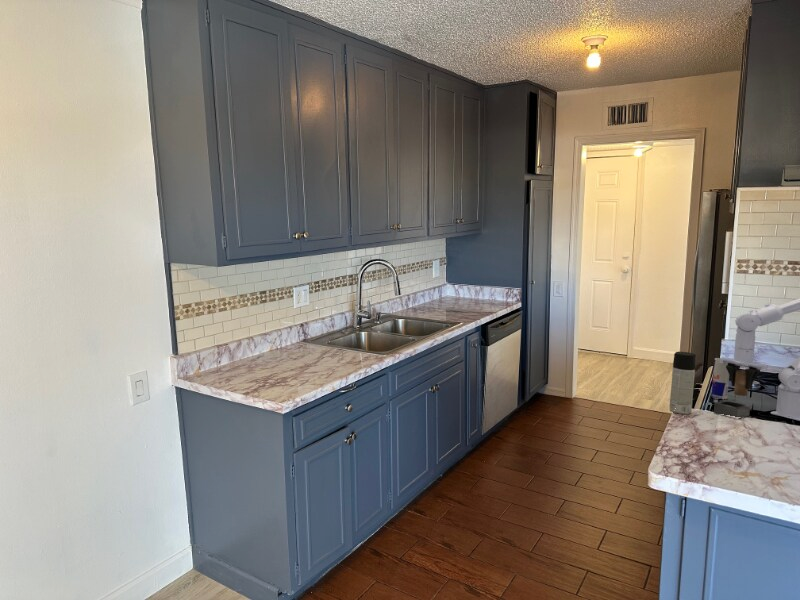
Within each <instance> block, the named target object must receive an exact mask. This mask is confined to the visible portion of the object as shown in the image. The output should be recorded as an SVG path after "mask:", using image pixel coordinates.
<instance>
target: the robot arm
mask: <svg viewBox="0 0 800 600" xmlns="http://www.w3.org/2000/svg"><path fill="white" fill-rule="evenodd" d="M797 311H800V297H799V298H797V299H794V300H791V301H788V302H786V303H783V304H781V305H777V304H774V303H772V304H770V303H766V304H764V306H763V307H760V308H756V309H749V310H748V312H743V313H740V314H739V315H738V316H737V317H736V319H735V326H737V327H736V330H735V331H736V334H735V338H734V339H735V341H734V353H733V357H732V358H731V357H726V356H725V357H724V356H721V357H720V363H726V364H728V365H727V366H726V369H727V371H728V373H729V380H730V382H731V387H734V386H735V374H736V370H740V369H741V367H743V368H744V367H745V370H744V371H746V389H748V390H751V389H752V387H753V383H754V381H755V380H756V378H757V376H758V375H759V373H760V372H761V371H763V372H766V371H768V369H769V368H768V364H765V363H761V362H758V361H754V357H755V345H756V330H757V329H758V327H763V326H766V325H769V324H773V323H776V322H777V321H778V322H779V321H781V320H782V319H783V317H784V316H785V315H787V314H791V313H794V312H797ZM777 376H778V380H779V382H781V383H780V384H779V385H778V389H777V399H776V410H775V411H770V414H771V415H775V416H780V417H782V418H783V417H784V418H787V419H790V420H791V419H792V420H796V421H799V422H800V355H799V356H798V358H796V359H795V360H794V361H792V362H790V364H789V365H787V367H784V368H782V369H781V370H779V372H778V375H777Z"/></svg>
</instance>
